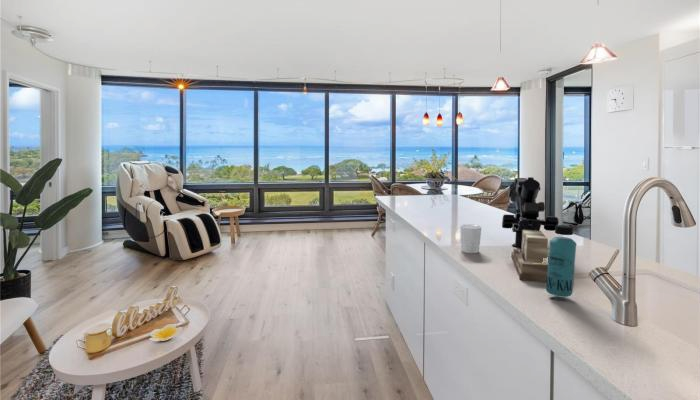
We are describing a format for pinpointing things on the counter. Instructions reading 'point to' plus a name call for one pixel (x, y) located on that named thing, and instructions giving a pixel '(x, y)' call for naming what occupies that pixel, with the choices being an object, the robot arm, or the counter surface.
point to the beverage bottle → (561, 263)
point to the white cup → (470, 238)
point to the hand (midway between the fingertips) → (530, 241)
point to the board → (528, 276)
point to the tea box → (534, 246)
